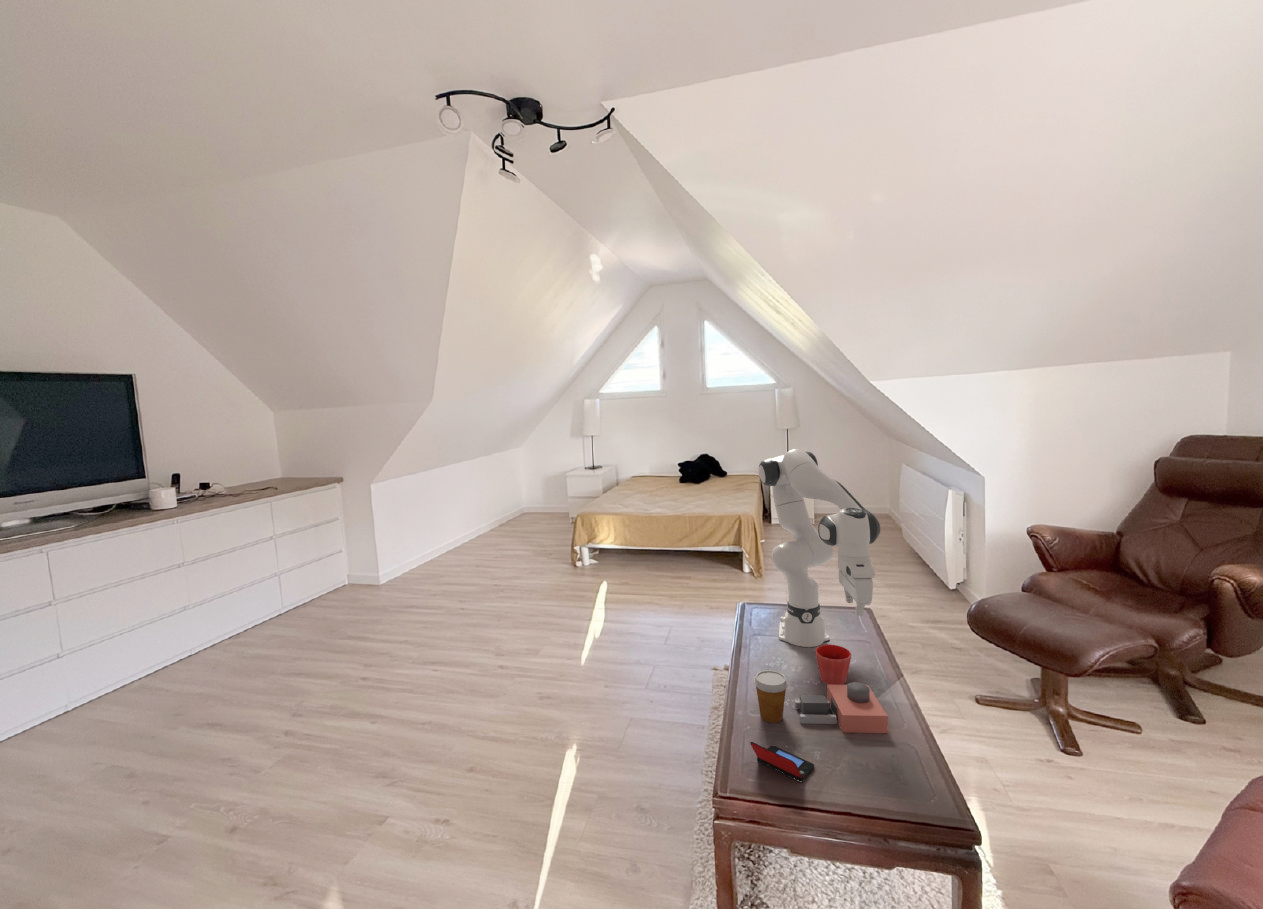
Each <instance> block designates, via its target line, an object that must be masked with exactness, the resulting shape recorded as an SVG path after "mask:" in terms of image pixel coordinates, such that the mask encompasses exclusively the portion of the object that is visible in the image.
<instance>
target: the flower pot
mask: <svg viewBox="0 0 1263 909" xmlns="http://www.w3.org/2000/svg"><path fill="white" fill-rule="evenodd" d="M815 656H816V661H817V668H818V672H819V676H820V680H821V681H822V682H823V683H824V684H826V685H846V682H847V678H848V675H849V670H850V665H851V660H852V652H851V651H850V650H849V649H848V648H846V647H843V646H841V645H837V644H821V645H818V646H816V648H815Z"/></svg>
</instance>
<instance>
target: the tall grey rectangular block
mask: <svg viewBox="0 0 1263 909" xmlns="http://www.w3.org/2000/svg"><path fill="white" fill-rule="evenodd" d="M799 697H800V698H799V700H800V709H799V711H800V714H813V715H829V709H828V702H827V701H828V700H827V697H826V696H825V695H810V694H809V695H808V694H802V695H801V694H800V695H799Z"/></svg>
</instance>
